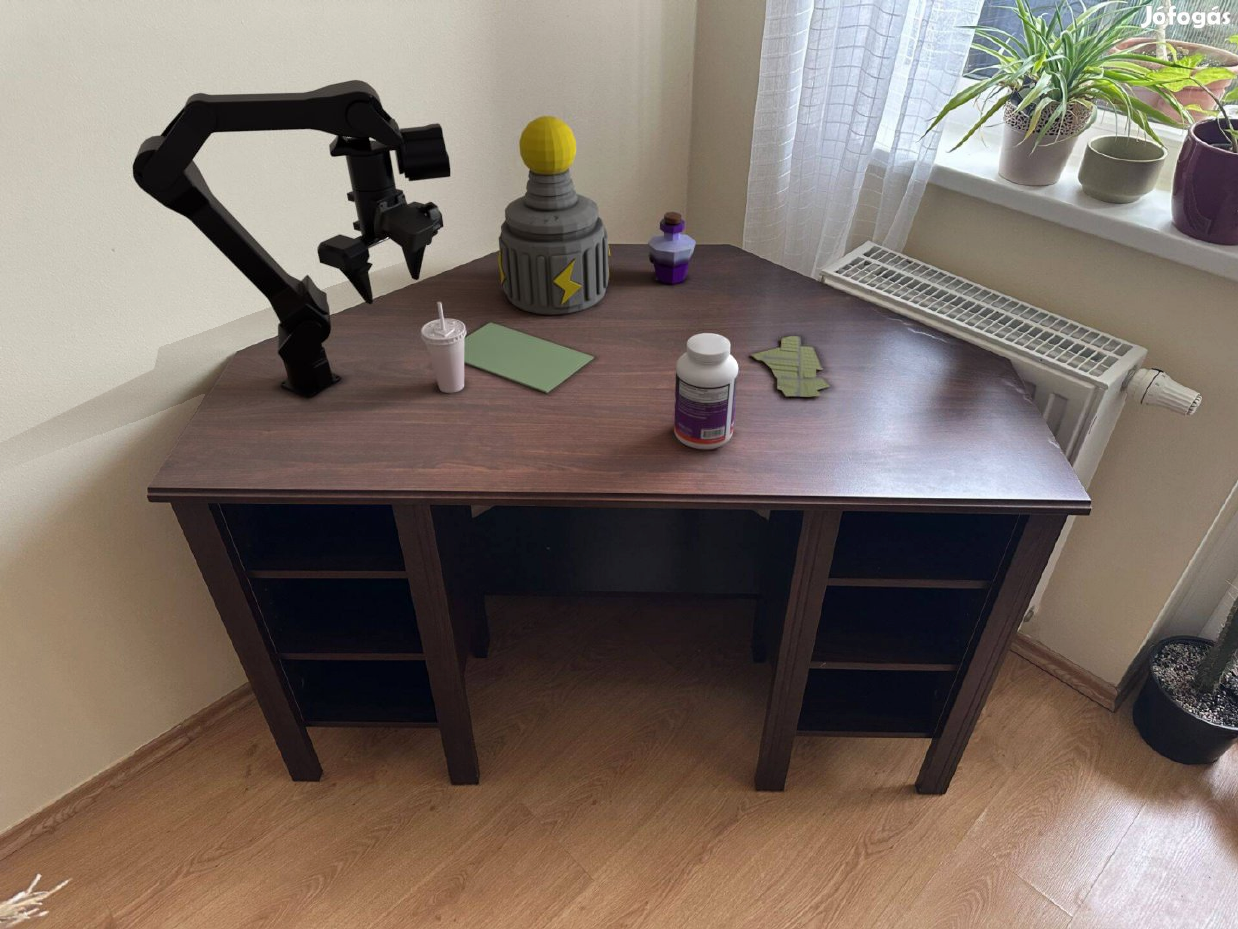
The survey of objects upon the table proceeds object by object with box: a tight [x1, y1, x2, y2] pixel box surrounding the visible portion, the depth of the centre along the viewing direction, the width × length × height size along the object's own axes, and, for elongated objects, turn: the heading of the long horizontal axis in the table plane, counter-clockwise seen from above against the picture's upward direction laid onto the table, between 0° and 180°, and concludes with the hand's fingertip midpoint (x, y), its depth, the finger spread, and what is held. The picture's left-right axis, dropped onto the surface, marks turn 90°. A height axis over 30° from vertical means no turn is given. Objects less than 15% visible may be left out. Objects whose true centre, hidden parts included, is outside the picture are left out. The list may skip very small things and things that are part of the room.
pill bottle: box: [673, 332, 739, 450], centre depth 115 cm, size 8×8×14 cm
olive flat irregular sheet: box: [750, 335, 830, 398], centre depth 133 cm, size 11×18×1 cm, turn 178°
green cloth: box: [464, 322, 595, 394], centre depth 136 cm, size 21×12×1 cm, turn 56°
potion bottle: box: [647, 211, 697, 286], centre depth 155 cm, size 9×9×12 cm
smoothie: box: [420, 301, 467, 394], centre depth 125 cm, size 6×6×14 cm
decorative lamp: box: [497, 115, 611, 316], centre depth 145 cm, size 19×19×30 cm
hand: (393, 291), depth 126 cm, fingers open, 9 cm apart
